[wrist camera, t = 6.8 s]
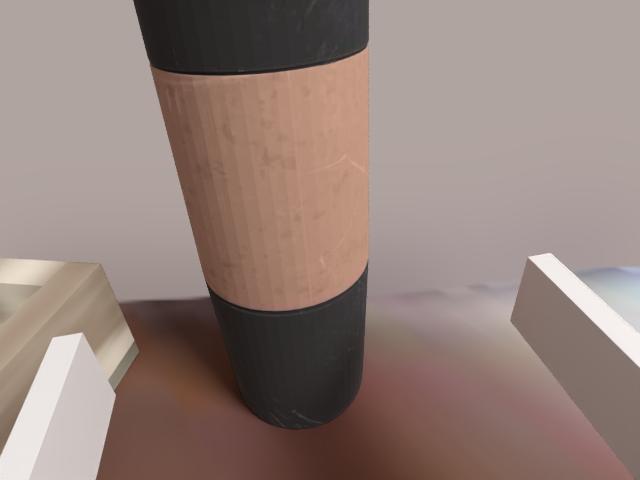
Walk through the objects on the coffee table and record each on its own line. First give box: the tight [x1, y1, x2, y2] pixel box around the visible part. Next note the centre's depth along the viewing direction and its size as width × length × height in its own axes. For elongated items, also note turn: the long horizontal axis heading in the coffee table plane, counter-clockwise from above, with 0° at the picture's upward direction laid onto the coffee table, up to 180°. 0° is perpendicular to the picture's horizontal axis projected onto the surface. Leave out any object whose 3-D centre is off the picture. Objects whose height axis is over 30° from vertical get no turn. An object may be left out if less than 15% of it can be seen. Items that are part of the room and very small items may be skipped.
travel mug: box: [133, 0, 369, 429], centre depth 19 cm, size 8×8×20 cm
